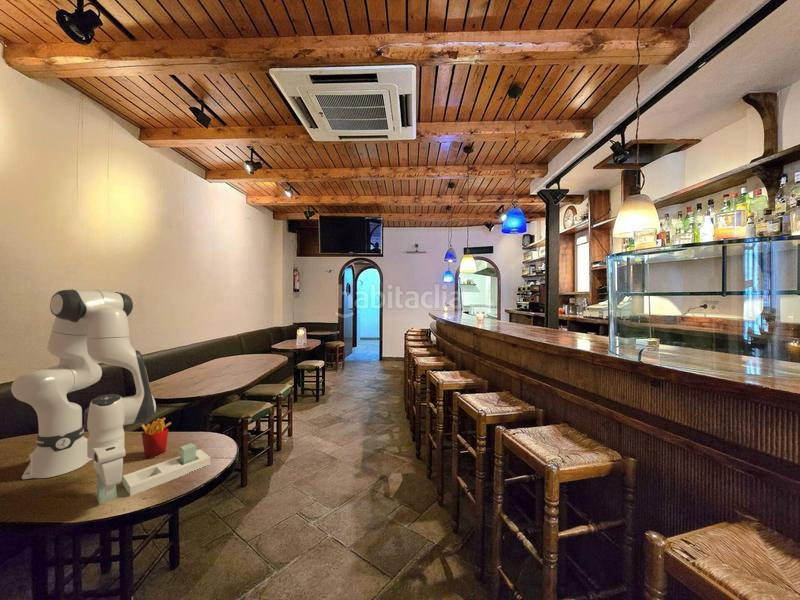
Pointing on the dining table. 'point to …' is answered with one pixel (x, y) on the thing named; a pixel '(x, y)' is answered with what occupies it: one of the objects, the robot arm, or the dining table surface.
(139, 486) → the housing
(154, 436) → the french fries
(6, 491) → the dining table surface
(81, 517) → the dining table surface
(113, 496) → the block
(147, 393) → the robot arm
